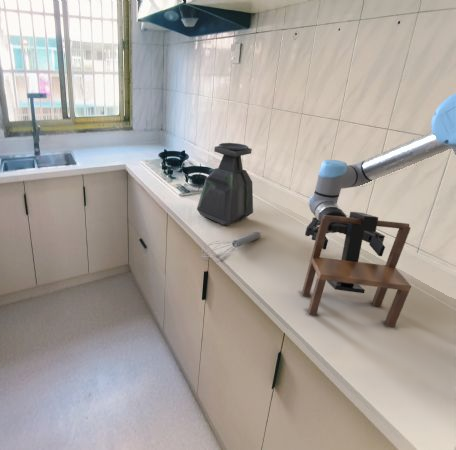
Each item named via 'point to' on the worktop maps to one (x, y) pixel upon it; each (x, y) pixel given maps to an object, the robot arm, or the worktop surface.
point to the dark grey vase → (227, 187)
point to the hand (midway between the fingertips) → (353, 248)
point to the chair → (359, 270)
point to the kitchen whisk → (236, 243)
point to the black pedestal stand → (355, 246)
